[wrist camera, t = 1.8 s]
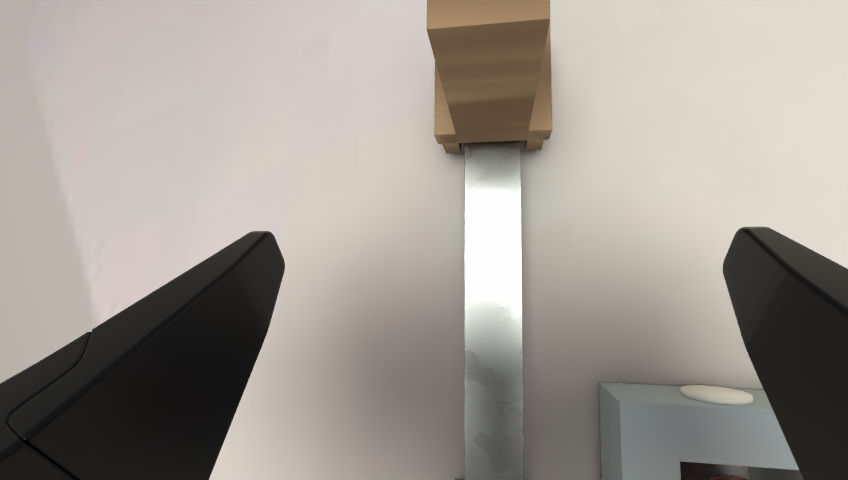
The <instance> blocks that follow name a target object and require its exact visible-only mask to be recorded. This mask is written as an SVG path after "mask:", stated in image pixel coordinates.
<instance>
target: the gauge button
mask: <svg viewBox="0 0 848 480" xmlns="http://www.w3.org/2000/svg"><path fill="white" fill-rule="evenodd" d="M710 480H747V479H745V478H742V477H738V476H732V475H724V476H719V477H715V478H713V479H710Z"/></svg>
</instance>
